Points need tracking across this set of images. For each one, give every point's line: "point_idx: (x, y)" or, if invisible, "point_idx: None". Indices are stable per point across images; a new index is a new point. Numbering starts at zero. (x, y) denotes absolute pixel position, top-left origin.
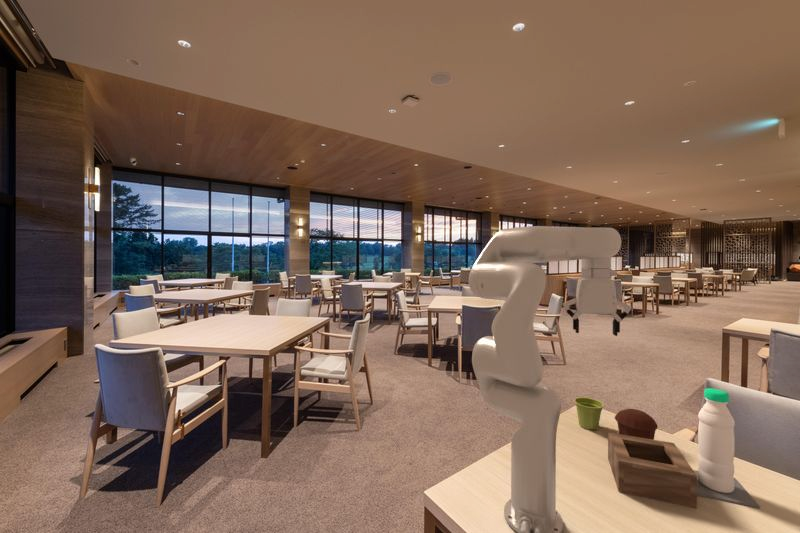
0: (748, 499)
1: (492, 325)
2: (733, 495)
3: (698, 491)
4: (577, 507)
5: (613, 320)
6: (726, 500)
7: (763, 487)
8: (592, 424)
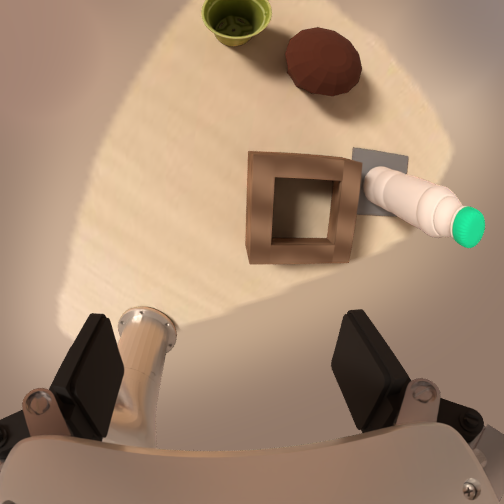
0: None
1: None
2: None
3: None
4: (190, 296)
5: (392, 380)
6: (373, 214)
7: (425, 167)
8: (239, 43)
